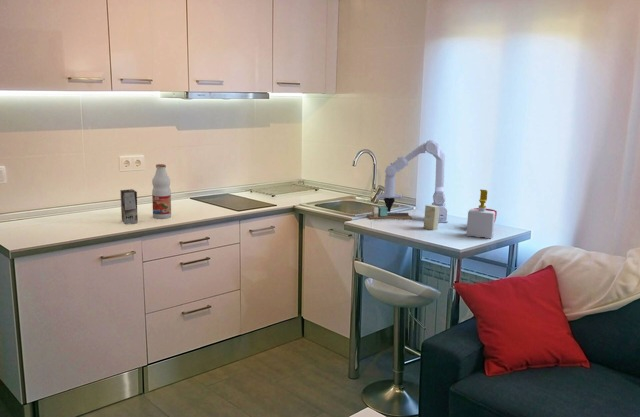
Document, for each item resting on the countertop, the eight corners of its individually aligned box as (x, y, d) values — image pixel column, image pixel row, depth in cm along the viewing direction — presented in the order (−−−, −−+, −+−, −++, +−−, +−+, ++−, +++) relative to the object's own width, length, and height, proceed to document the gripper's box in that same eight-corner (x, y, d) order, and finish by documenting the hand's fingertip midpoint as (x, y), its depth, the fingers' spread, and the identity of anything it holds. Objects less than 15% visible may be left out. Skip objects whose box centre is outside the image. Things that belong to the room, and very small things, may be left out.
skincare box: (423, 228, 302) (424, 205, 300) (428, 227, 305) (429, 204, 303) (433, 230, 298) (435, 207, 295) (438, 229, 301) (440, 206, 298)
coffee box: (138, 223, 295) (137, 191, 291) (125, 224, 291) (123, 192, 288) (134, 219, 302) (133, 188, 299) (121, 220, 299) (120, 189, 296)
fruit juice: (174, 216, 312) (173, 164, 307) (163, 219, 304) (162, 166, 299) (160, 214, 316) (159, 163, 311) (149, 217, 308) (147, 164, 302)
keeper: (387, 216, 323) (387, 207, 322) (380, 216, 322) (380, 207, 321) (384, 214, 328) (385, 206, 327) (377, 214, 327) (378, 206, 326)
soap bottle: (466, 236, 288) (469, 189, 283) (468, 233, 294) (472, 187, 289) (491, 239, 283) (495, 191, 278) (493, 236, 289) (497, 189, 284)
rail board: (412, 219, 324) (412, 208, 323) (370, 219, 320) (370, 208, 318) (407, 215, 332) (407, 205, 331) (366, 216, 328) (366, 205, 327)
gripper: (400, 186, 328) (398, 209, 330) (375, 186, 325) (373, 210, 328) (404, 188, 321) (402, 212, 324) (378, 188, 318) (377, 212, 321)
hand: (388, 211), depth 325 cm, fingers closed
